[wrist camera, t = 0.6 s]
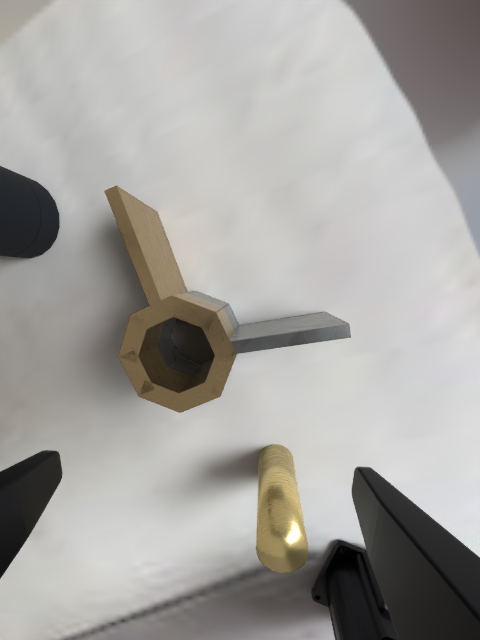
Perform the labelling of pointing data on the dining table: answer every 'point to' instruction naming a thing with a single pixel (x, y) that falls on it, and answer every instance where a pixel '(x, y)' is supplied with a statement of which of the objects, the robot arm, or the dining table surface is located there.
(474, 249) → the dining table surface
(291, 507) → the hinge pin
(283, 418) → the dining table surface
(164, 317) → the hinge
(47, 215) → the black water bottle
